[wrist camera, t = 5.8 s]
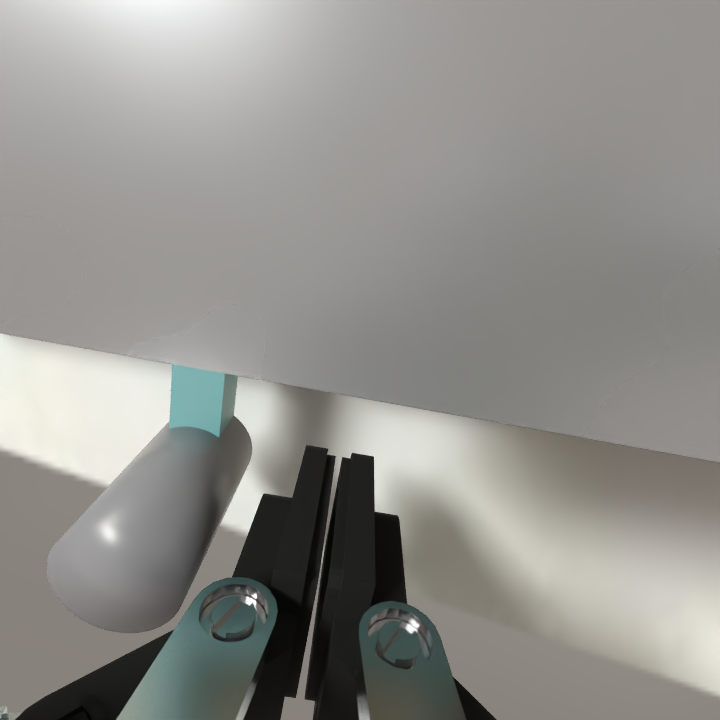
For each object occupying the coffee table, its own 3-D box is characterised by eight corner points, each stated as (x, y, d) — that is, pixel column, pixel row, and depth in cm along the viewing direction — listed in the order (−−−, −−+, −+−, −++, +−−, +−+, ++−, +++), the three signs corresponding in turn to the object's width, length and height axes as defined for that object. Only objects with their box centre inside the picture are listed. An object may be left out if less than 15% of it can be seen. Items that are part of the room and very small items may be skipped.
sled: (691, -164, 8) (1080, -614, 4) (468, 527, 13) (519, 696, 9) (197, -277, 8) (-37, -918, 3) (162, 475, 13) (49, 621, 8)
